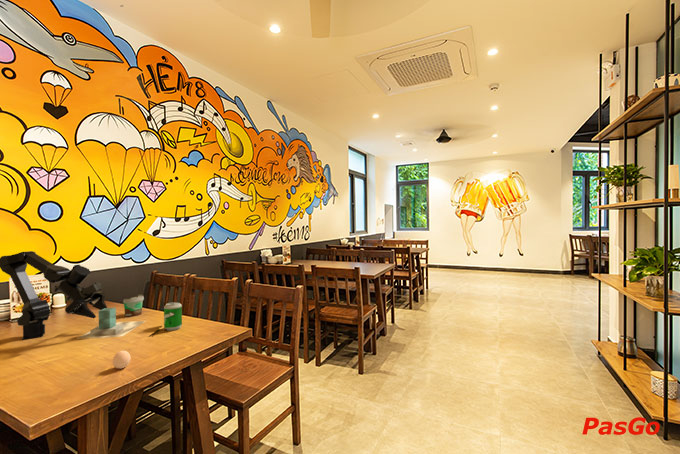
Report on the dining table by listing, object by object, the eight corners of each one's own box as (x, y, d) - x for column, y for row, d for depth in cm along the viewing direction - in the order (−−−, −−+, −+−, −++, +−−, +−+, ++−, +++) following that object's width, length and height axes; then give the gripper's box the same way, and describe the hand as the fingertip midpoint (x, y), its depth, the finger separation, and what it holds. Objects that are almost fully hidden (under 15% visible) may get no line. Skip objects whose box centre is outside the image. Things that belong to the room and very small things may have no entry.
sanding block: (90, 336, 134) (90, 311, 134) (99, 330, 140) (99, 307, 140) (115, 334, 135) (115, 310, 135) (123, 329, 141) (123, 306, 141)
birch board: (75, 342, 130) (75, 338, 130) (107, 325, 152) (107, 322, 152) (121, 339, 133) (121, 336, 133) (146, 323, 155) (146, 320, 155)
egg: (132, 367, 107) (132, 350, 107) (114, 372, 103) (114, 355, 103) (128, 363, 110) (128, 346, 110) (111, 368, 106) (110, 351, 106)
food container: (134, 318, 165) (134, 299, 165) (123, 318, 165) (122, 299, 165) (149, 311, 177) (149, 294, 177) (138, 311, 178) (138, 294, 177)
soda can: (177, 325, 152) (177, 300, 152) (184, 328, 148) (184, 303, 148) (161, 329, 147) (161, 303, 147) (168, 332, 142) (167, 306, 142)
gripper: (72, 281, 127) (102, 306, 129) (101, 274, 146) (126, 296, 147) (51, 301, 126) (82, 326, 128) (83, 291, 145) (109, 313, 146)
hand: (101, 314), depth 137 cm, fingers open, 9 cm apart
